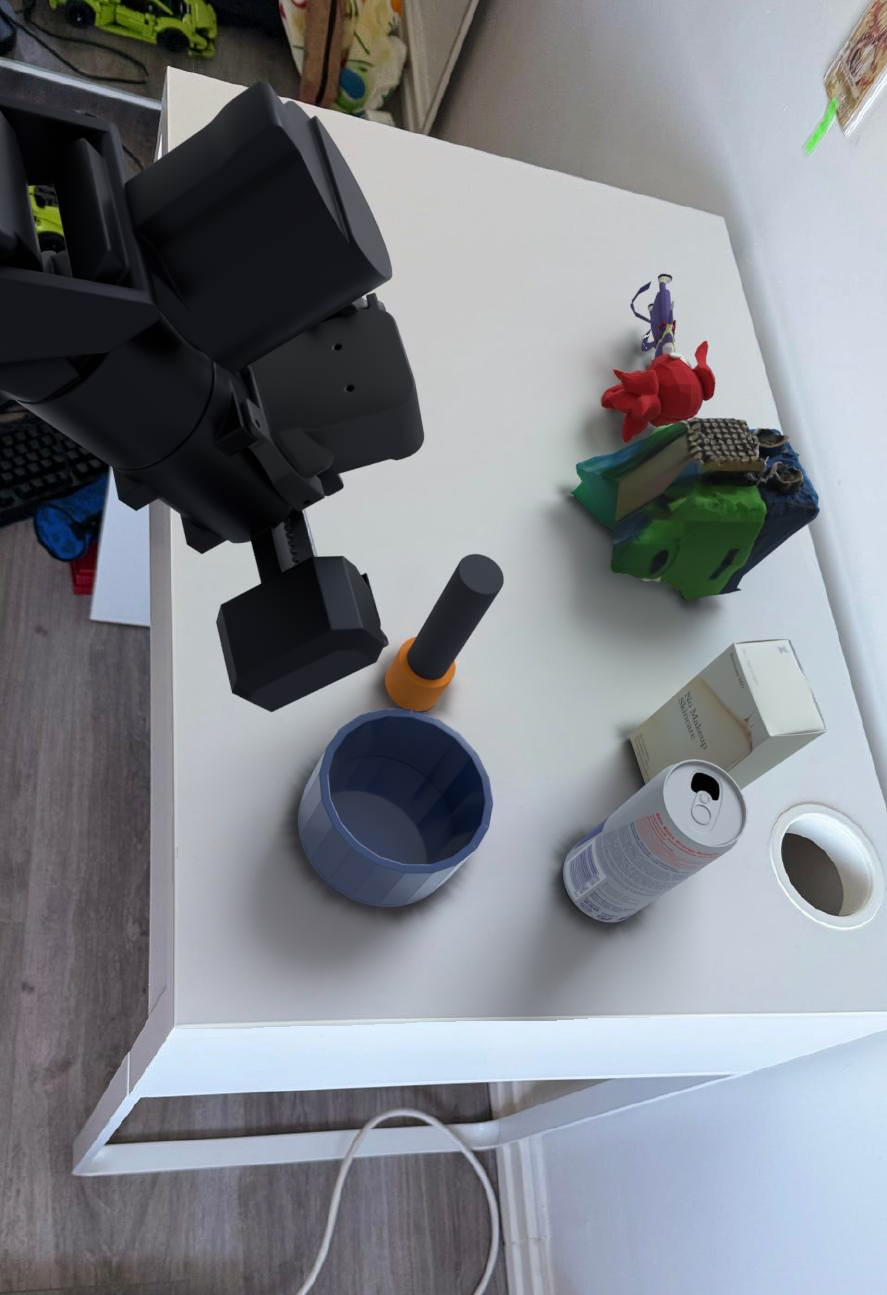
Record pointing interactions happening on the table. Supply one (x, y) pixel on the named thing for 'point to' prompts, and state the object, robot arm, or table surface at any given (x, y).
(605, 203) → the table surface
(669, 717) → the cosmetic box
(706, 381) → the figurine
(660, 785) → the energy drink
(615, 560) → the sculpture
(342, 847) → the blue plastic pot
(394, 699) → the scrub stick
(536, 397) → the table surface
